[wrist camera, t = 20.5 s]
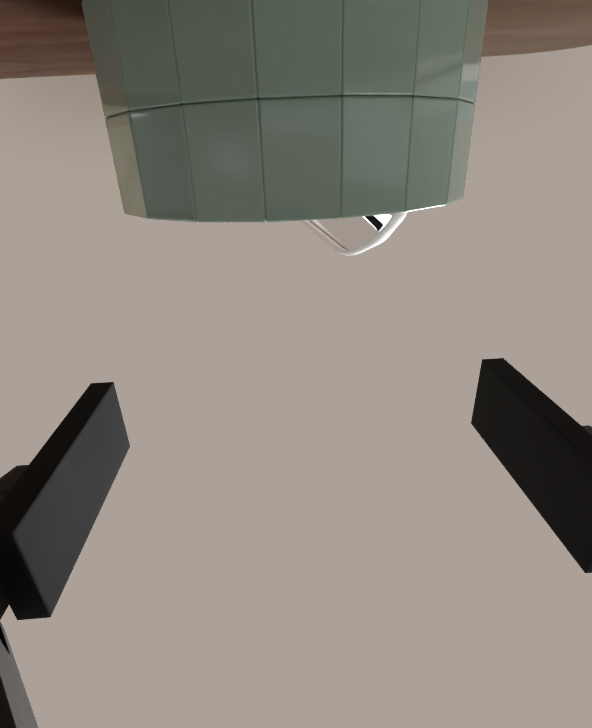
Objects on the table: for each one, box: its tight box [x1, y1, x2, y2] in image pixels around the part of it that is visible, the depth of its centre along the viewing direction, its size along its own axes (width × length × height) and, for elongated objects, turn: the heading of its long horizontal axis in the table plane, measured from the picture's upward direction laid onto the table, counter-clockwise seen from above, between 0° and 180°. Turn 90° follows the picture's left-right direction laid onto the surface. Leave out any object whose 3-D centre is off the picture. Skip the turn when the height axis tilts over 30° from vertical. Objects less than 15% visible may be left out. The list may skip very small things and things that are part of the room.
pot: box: [81, 0, 488, 222], centre depth 15 cm, size 12×12×6 cm
